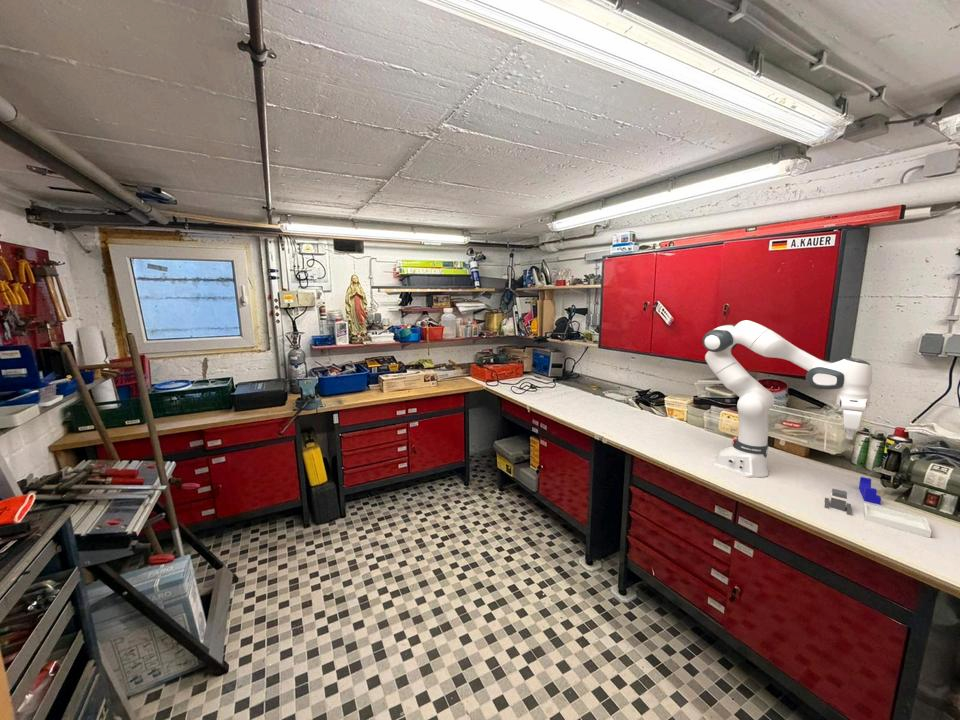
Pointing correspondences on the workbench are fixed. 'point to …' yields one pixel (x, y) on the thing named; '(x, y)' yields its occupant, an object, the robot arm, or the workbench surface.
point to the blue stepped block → (868, 491)
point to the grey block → (838, 499)
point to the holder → (848, 506)
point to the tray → (897, 520)
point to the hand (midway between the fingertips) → (848, 435)
